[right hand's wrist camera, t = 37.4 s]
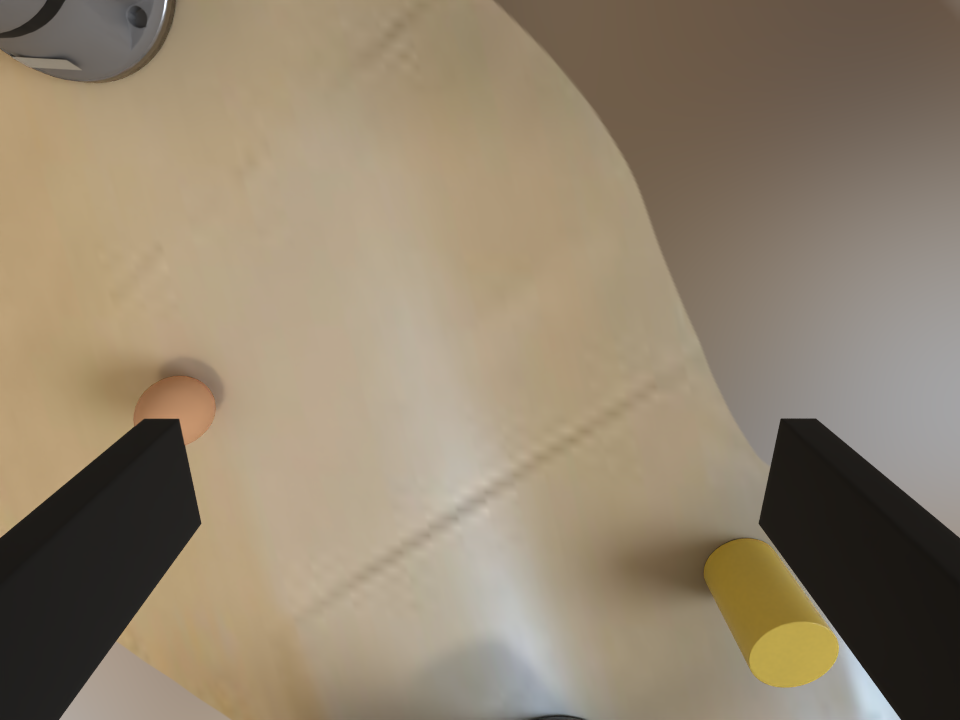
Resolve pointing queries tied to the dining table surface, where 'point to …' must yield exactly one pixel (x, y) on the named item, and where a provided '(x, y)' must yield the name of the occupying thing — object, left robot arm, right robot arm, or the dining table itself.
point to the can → (769, 614)
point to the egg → (178, 405)
